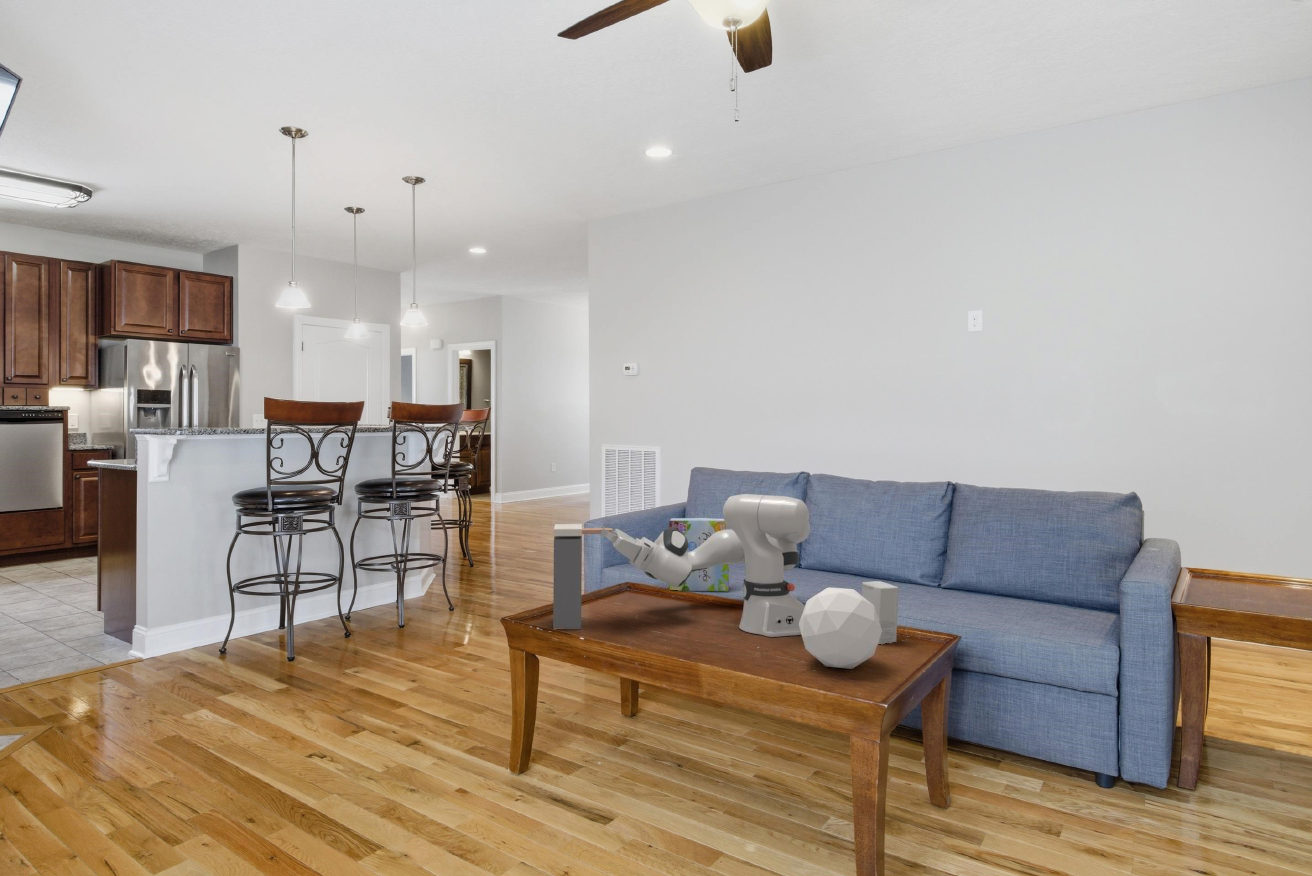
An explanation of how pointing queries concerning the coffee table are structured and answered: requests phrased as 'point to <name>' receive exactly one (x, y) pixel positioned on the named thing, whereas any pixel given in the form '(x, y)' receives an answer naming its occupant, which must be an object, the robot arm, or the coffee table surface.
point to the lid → (576, 530)
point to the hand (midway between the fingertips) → (601, 529)
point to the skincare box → (883, 607)
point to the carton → (567, 582)
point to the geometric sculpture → (840, 628)
